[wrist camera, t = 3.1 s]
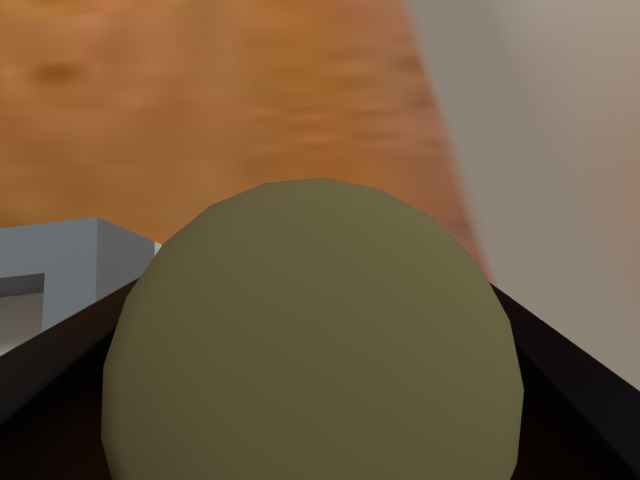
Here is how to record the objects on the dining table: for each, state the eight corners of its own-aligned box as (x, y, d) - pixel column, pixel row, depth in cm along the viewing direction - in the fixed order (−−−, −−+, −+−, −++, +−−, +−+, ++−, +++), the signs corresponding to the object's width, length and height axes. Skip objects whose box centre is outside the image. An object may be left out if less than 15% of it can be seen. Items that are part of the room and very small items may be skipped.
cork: (265, 434, 13) (-10, 947, 2) (233, 279, 14) (-36, 171, 4) (419, 392, 13) (784, 699, 3) (375, 242, 15) (501, 42, 4)
